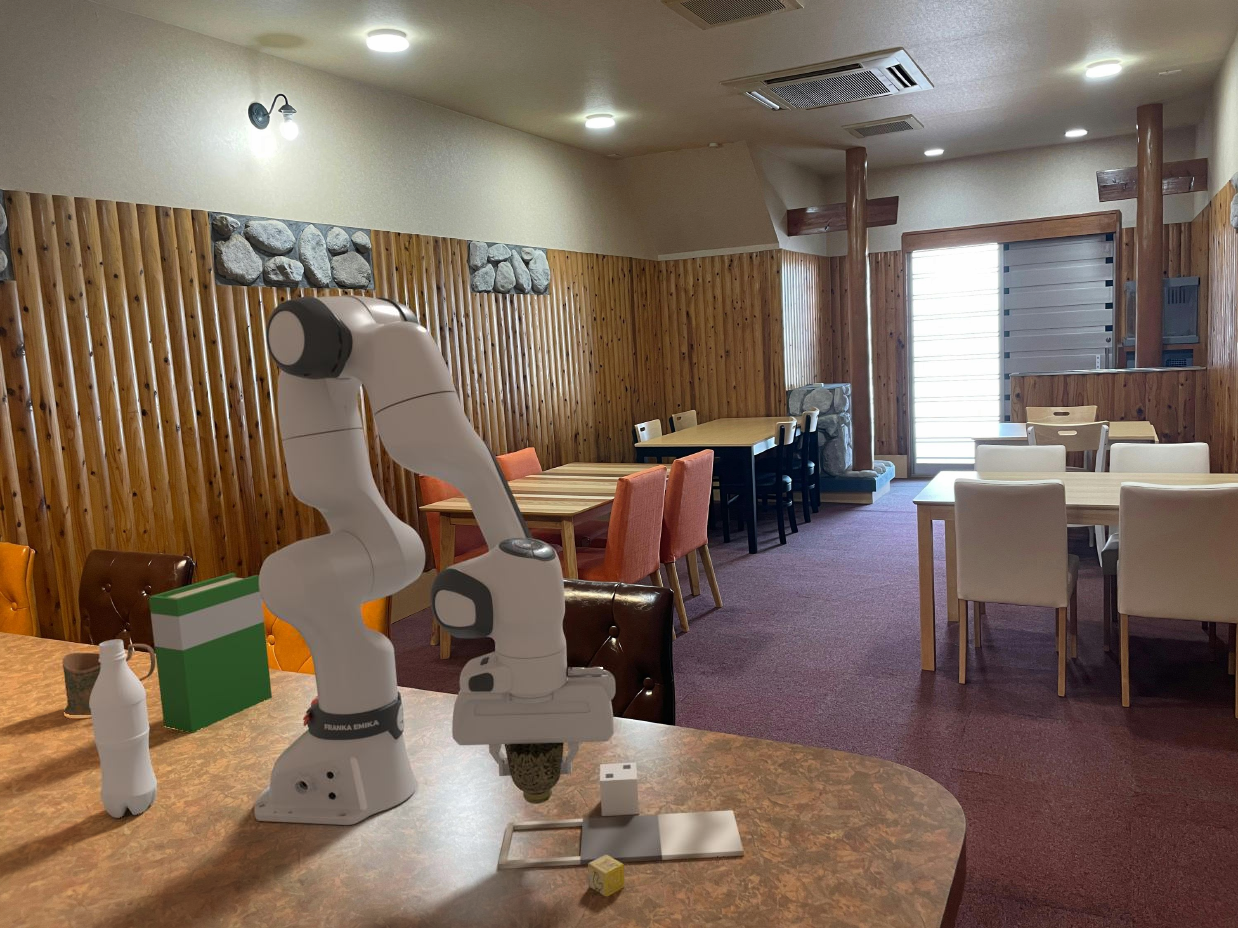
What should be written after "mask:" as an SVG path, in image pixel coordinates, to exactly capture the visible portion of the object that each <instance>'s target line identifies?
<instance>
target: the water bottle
mask: <svg viewBox="0 0 1238 928" xmlns="http://www.w3.org/2000/svg"><path fill="white" fill-rule="evenodd" d="M98 649H99V654H100V655H99V657H100V658H99V662H100V663H101V669H100V673H99V675H98V678H97V680H96V682H95V684H94V687H93V689H92V692H91V695H90V700H89V707H90V709H91V715H92V718H91V721H92V729H93V737H94V738H93V741H94V743H95V746H96V750H97V752H98V757H99V762H100V771H101V787H100V788H101V789H100V800H101V802H102V805H103V807H104V809H105V810H106V812H107V813H108V814H109V815H110V817H112V818H115V819H120V817H121V818H123V817H122V816H125V813H126V811H127V809H129V811H130V812H131V814H132V815H133V816H136V815H137V814H138V815H140V814H142V812H143V813H144V812H145V811H147V809H148V808H149V807H150V806H152V805H153V804H154V803H155V800H156V797H157V793H158V782H157V778H156V774H155V772H154V768H153V766H152V761H151V757H150V756H151V755H150V749H149V745H150V743H149V739H150V738H149V736H150V724H149V716H148V715H149V714H148V707H147V701H146V700H147V699H146V697H147V692H146V689H145V687H144V685H143V683H142V682H141V681H140V680H139V679H140V678H138V677H137V675H136V674H135V673H134V671H133V670H132V669H131V668H130V667H129V665H128V663H127V662H128V661H127V662H126V659H127V657H128V653H126V650H125V647H124V640H123V639H120V638H119V639H110V640H105V641H103V642H101V643H99V644H98ZM151 804H152V805H151ZM149 805H150V806H149ZM139 813H140V814H139Z"/></svg>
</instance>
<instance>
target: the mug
mask: <svg viewBox="0 0 1238 928" xmlns="http://www.w3.org/2000/svg"><path fill="white" fill-rule="evenodd" d="M134 648H141V649H145V650H147V651H148V653H149V657H150V669H149V672H148V673H147V675H145V676H142V677H141V678H138V679H139V680H140V682H141V681H144V680H145V679H147V678H149V677H150V676H151V675H152V674H153V673H154V671H155V668H156V653H155V649H153V647H151V646H150V645H148V644H145V643H131V644H129V645H127V657H126V658H125V659H126V662H128V661H130V660H131V658H132V656H133V649H134ZM99 655H100V653H97V652H72V653H68V654H65V656H63V657H62V662H61V663H62V668H63V676H64V683H65V690H66V693H65V694H66V695H65V696H66V698H67V699H66V702H67V705H66V707H65V708H64V709H65V710H63V711H64V712H65V713H66V714H69V715H91V709H90V707H89V700H90V695H91V692H92V689H93V687H94V684H95V682H96V680H97V678H98V675H99V673H100V669H101V663H100V662H99V658H100V657H99Z"/></svg>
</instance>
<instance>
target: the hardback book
mask: <svg viewBox="0 0 1238 928" xmlns="http://www.w3.org/2000/svg"><path fill="white" fill-rule="evenodd" d="M148 602H149V610H150V618H151V619H150V620H151V625H152V628H151V629H152V636H153V643H154V644H153V645H154V654H155V662H156V669H157V677H158V686H159V692H160V693H159V695H160V703H161V704H160V705H161V710H162V712H161V713H162V719H163V726H166V727H170V728H175V729H178V730H177V731H179V730H183V731H182V732H184V731H188V732H191V733H190V734H194V733H196V732H198V731H197V730H199V731H201V730H202V729H201V728H203V729H205V728H208V727H209V725H210V726H211V725H214V724H216V723H218V721H219V722H220V721H223V720H225V719H227V718H230V717H232V716H234V715H236V714H238V713H241V712H243V711H245V710H247V709H249V707H250V708H251V707H254V706H256V705H258V703H259V704H260V702H261V703H263V702H265V701H267V700H269V698H270V699H271V697H272V698H273V696H272V686H271V684H272V683H271V676H270V675H271V674H270V666H269V657H268V645H267V639H266V628H265V618H264V608H263V607H264V606H263V600H262V598H261V595H260V591H259V575H257V574H255V575H251V576H248V577H245V578H242V577H237V576H236V573H235V572H234V573H233V572H231V573H227V574H224V575H221V576H218V577H217V576H216V577H214V578H210V579H207V580H206V579H205V580H202V581H199V582H195V583H192V584H189V585H185V586H182V587H181V586H180V587H179V588H175V589H171V590H168V591H164V592H160V593H156V594H153V595H151V596H148ZM264 700H265V701H264ZM244 709H245V710H244ZM229 716H230V717H229ZM213 723H214V724H213ZM204 727H205V728H204ZM200 729H201V730H200ZM195 731H196V732H195ZM188 732H187V733H188ZM193 732H194V733H193Z"/></svg>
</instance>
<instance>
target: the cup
mask: <svg viewBox="0 0 1238 928" xmlns="http://www.w3.org/2000/svg"><path fill="white" fill-rule="evenodd" d="M504 749H505V753H506V758H507V760H508V764H509V769H510V774H511V776H510V777H511V779H512V782H513V784H514V785H515V786H516V787H517V788H518V789H519V790H520V791H522V796H523V798H524V800H525V801H526V802H527V803H528V804H533V805H538V804H543V803H546V802H547V801H549V799H550V798H551V797H552V794H553V788H554V787H555V786H556V785H557V783H558V782H559V780H560V778H561V775H562V774H560V770H561V762H562V759H563V756H564V743H531V744H504Z"/></svg>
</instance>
